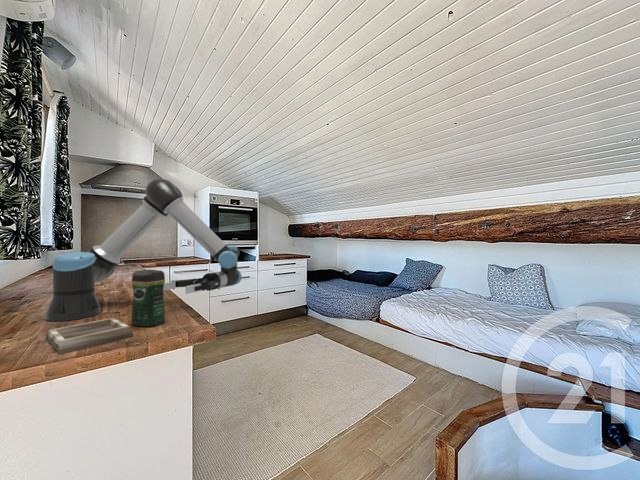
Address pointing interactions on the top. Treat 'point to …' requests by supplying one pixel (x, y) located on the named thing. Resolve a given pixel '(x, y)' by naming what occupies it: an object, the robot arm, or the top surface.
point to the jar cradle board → (87, 335)
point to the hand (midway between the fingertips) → (172, 288)
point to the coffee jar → (148, 297)
